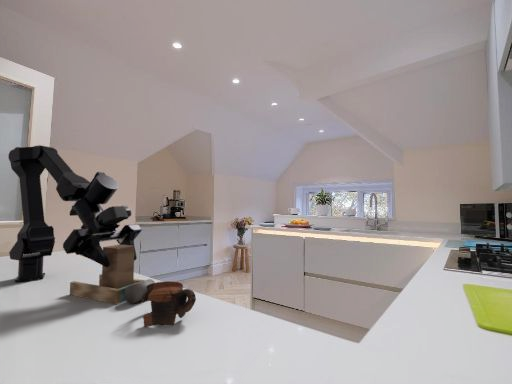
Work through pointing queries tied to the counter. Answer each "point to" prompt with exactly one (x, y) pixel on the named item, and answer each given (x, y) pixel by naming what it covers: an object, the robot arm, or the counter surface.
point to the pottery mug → (167, 302)
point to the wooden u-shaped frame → (111, 291)
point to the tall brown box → (118, 266)
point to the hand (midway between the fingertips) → (122, 262)
